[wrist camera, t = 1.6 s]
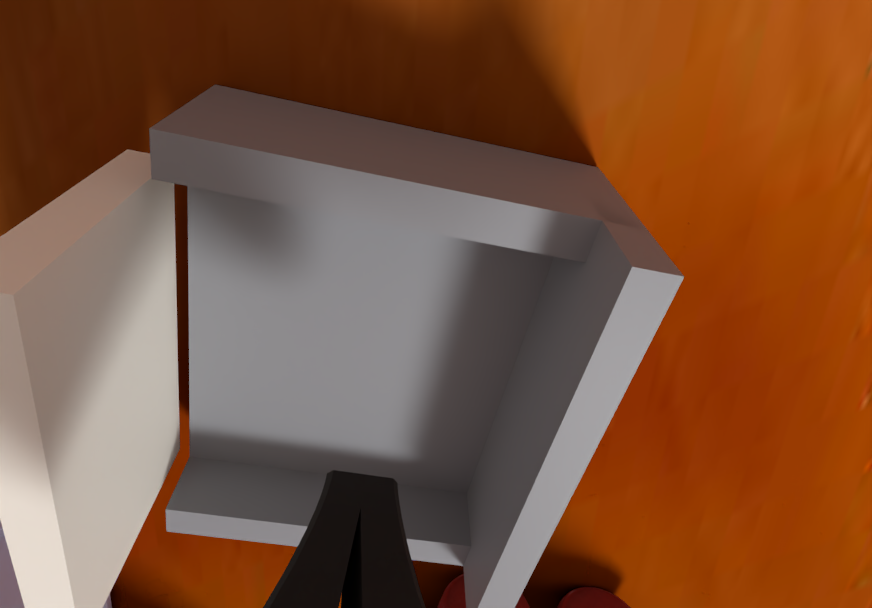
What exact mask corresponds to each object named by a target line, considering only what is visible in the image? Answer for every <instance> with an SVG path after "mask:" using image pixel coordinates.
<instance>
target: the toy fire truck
mask: <svg viewBox="0 0 872 608" xmlns="http://www.w3.org/2000/svg"><path fill="white" fill-rule="evenodd" d="M437 608H466V598H465V583H464V574H462V575H459V576H458V577H456V578H455V579H454V580H453V581H452V582H450V583H449V585H448V586H447V587H446V589H445V591H444V593H443V595H442V597H441V600H440V602H439V604H438V607H437ZM515 608H530V606H529V604H528V602H527V600H526V599H525V597H524V595H523V594H521V596H520V598H519V600H518V602H517V604H516V606H515ZM557 608H630V607H629V606H628V605H627V604H626V603H625V602H624V601H623V600H621V599H620V598H619V597H617V596H616V595H614V594H612V593H610V592H608V591H606V590H603V589H600V588H596V587H581V588H577V589H574V590H572V591H570V592H569V593H568V594H566V595H565V596H564V597H563V598H562V600H561V601H560V603H559V605H558V607H557Z"/></svg>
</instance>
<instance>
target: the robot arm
mask: <svg viewBox="0 0 872 608" xmlns="http://www.w3.org/2000/svg"><path fill="white" fill-rule="evenodd" d="M341 593H342V600H341V608H426V607H425V604H424V601H423V598H422V594H421V591H420V588H419V584H418V581H417V577H416V574H415V570H414V567H413V563H412V559H411V556H410V552H409V548H408V543H407V539H406V534H405V530H404V525H403V520H402V515H401V509H400V502H399V495H398V483H397V482H396V481H395V480H394V479H393V478H388V477H380V476H373V475H366V474H358V473H351V472H344V471H337V470H333V471H331V472H329V473H327V476H326V480H325V484H324V487H323V490H322V493H321V496H320V499H319V501H318V504H317V506H316V509H315V511H314V514H313V516H312V518H311V520H310V522H309V525H308V527H307V529H306V531H305V533H304V535H303V537H302V539H301V541H300V543H299V545H298V547H297V549H296V551H295V553H294V555H293V557H292V558H291V560H290V562H289V564H288V566H287V568H286V570H285V571H284V573H283V575H282V577H281V578H280V580H279V582H278V583H277V585H276V587H275V589H274V590H273V592H272V594H271V595H270V597H269V599H268V600H267V602H266V604H265V605H264V607H263V608H338V606H339V602H340V598H341ZM0 608H25V607H24V603H23V600H22V596H21V593H20V589H19V585H18V582H17V578H16V575H15V571H14V567H13V564H12V560H11V557H10V553H9V549H8V546H7V542H6V539H5V535H4V531H3V528H2V524H1V520H0ZM103 608H112V604H111V597H110V594H109V596H108V598H107V600H106V602H105V604H104V606H103Z"/></svg>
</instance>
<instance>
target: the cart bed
mask: <svg viewBox="0 0 872 608" xmlns="http://www.w3.org/2000/svg"><path fill="white" fill-rule="evenodd" d="M149 136H150V159H151V179H154V180H159V181H164V182H169V183H175V184H180V185H185V186H187V191H188V303H189V414H190V457H189V459H188V462H187V464H186V466H185V468H184V470H183V473H182V475H181V477H180V479H179V481H178V484H177V486H176V488H175V490H174V492H173V494H172V497H171V499H170V501H169V503H168V505H167V508H166V529H167V531H168V532H177V533H185V534H194V535H202V536H211V537H219V538H228V539H237V540H245V541H254V542H262V543H271V544H280V545H288V546H297V547H298V545H299V543H300V541H301V539H302V537H303V535H304V533H305V531H306V529H307V527H308V525H309V522H310V520H311V518H312V516H313V514H314V511H315V509H316V506H317V504H318V501H319V499H320V496H321V493H322V490H323V487H324V484H325V480H326V476H327V473H329V472H331V471H333V470H337V471H344V472H351V473H358V474H366V475H373V476H380V477H388V478H393V479H394V480H395V481H396V482H397V483H398V495H399V502H400V509H401V515H402V520H403V525H404V530H405V534H406V539H407V543H408V548H409V552H410V556H411V559H412V560H417V561H425V562H434V563H443V564H451V565H460V566H463V567H464V583H465V598H466V608H515V606H516V604H517V602H518V600H519V598H520V596H521V594H522V592H523V590H524V589H525V587H526V585H527V583H528V581H529V579H530V577H531V575H532V573H533V571H534V569H535V567H536V565H537V563H538V561H539V559H540V557H541V555H542V553H543V551H544V549H545V548H546V546H547V544H548V542H549V540H550V538H551V536H552V534H553V532H554V530H555V528H556V526H557V524H558V522H559V520H560V518H561V516H562V514H563V512H564V510H565V509H566V507H567V505H568V503H569V501H570V499H571V497H572V495H573V493H574V491H575V489H576V487H577V485H578V483H579V481H580V479H581V477H582V475H583V473H584V471H585V469H586V468H587V466H588V464H589V462H590V460H591V458H592V456H593V454H594V452H595V450H596V448H597V446H598V444H599V442H600V440H601V438H602V436H603V434H604V432H605V430H606V428H607V427H608V425H609V423H610V421H611V419H612V417H613V415H614V413H615V411H616V409H617V407H618V405H619V403H620V401H621V399H622V397H623V395H624V393H625V391H626V389H627V387H628V386H629V384H630V382H631V380H632V378H633V376H634V374H635V372H636V370H637V368H638V366H639V364H640V362H641V360H642V358H643V356H644V354H645V352H646V350H647V348H648V347H649V345H650V343H651V341H652V339H653V337H654V335H655V333H656V331H657V329H658V327H659V325H660V323H661V321H662V319H663V317H664V315H665V313H666V311H667V309H668V307H669V306H670V304H671V302H672V300H673V298H674V296H675V294H676V292H677V290H678V288H679V286H680V284H681V282H682V280H683V278H684V276H683V275H682V273H681V272H680V271H679V270H678V268H677V267H676V266H675V264H674V263H673V262H672V261H671V259H670V258H669V257H668V256H667V254H666V253H665V252H664V250H663V249H662V248H661V247H660V245H659V244H658V243H657V242H656V240H655V239H654V238H653V237H652V235H651V234H650V233H649V231H648V230H647V229H646V228H645V226H644V225H643V224H642V223H641V221H640V220H639V219H638V218H637V216H636V215H635V214H634V212H633V211H632V210H631V209H630V207H629V206H628V205H627V204H626V202H625V201H624V200H623V199H622V197H621V196H620V195H619V193H618V192H617V191H616V190H615V188H614V187H613V186H612V185H611V183H610V182H609V181H608V179H607V178H606V177H605V176H604V174H603V173H602V172H601V171H600V169H599V168H598V167H595V166H590V165H585V164H581V163H576V162H571V161H567V160H562V159H558V158H553V157H548V156H544V155H539V154H534V153H530V152H525V151H521V150H516V149H511V148H507V147H502V146H498V145H493V144H488V143H484V142H479V141H474V140H470V139H465V138H461V137H456V136H451V135H447V134H442V133H437V132H433V131H428V130H424V129H419V128H414V127H410V126H405V125H400V124H396V123H391V122H387V121H382V120H377V119H373V118H368V117H363V116H359V115H354V114H350V113H345V112H340V111H336V110H331V109H327V108H322V107H317V106H313V105H308V104H303V103H299V102H294V101H290V100H285V99H280V98H276V97H271V96H266V95H262V94H257V93H253V92H248V91H243V90H239V89H234V88H229V87H225V86H220V85H216V84H215V85H214V86H212V87H211V88H209V89H208V90H206V91H205V92H203V93H202V94H200V95H199V96H197V97H196V98H194V99H193V100H191V101H190V102H188V103H187V104H185V105H184V106H182V107H181V108H179V109H178V110H176V111H175V112H173V113H172V114H170V115H169V116H167V117H166V118H164V119H163V120H161V121H160V122H158V123H157V124H155V125H154V126H152V127H151V128H149Z"/></svg>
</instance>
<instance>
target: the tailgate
mask: <svg viewBox="0 0 872 608" xmlns="http://www.w3.org/2000/svg"><path fill="white" fill-rule="evenodd" d="M179 449H180V431H179V385H178V339H177V293H176V247H175V200H174V183H169V182H164V181H159V180H154V179H151V159H150V154H149V153H144V152H139V151H134V150H129V149H127V150H126V151H124V152H123V153H121V154H120V155H118V156H117V157H116V158H114V159H113V160H111V161H110V162H108V163H107V164H105V165H104V166H102V167H101V168H100V169H98V170H97V171H95V172H94V173H92V174H91V175H89V176H88V177H86V178H85V179H84V180H82V181H81V182H79V183H78V184H76V185H75V186H73V187H72V188H70V189H69V190H68V191H66V192H65V193H63V194H62V195H60V196H59V197H57V198H56V199H55V200H53V201H52V202H50V203H49V204H47V205H46V206H44V207H43V208H41V209H40V210H39V211H37V212H36V213H34V214H33V215H31V216H30V217H28V218H27V219H25V220H24V221H23V222H21V223H20V224H18V225H17V226H15V227H14V228H12V229H11V230H9V231H8V232H7V233H5V234H4V235H2V236H1V237H0V520H1V524H2V528H3V531H4V535H5V539H6V542H7V546H8V549H9V553H10V557H11V560H12V564H13V567H14V571H15V575H16V578H17V582H18V585H19V589H20V593H21V596H22V600H23V603H24V607H25V608H103V606H104V604H105V602H106V600H107V598H108V596H109V594H110V592H111V590H112V588H113V586H114V583H115V581H116V579H117V577H118V575H119V573H120V571H121V569H122V567H123V565H124V563H125V561H126V559H127V557H128V555H129V552H130V550H131V548H132V546H133V544H134V542H135V540H136V538H137V536H138V534H139V532H140V530H141V528H142V526H143V524H144V521H145V519H146V517H147V515H148V513H149V511H150V509H151V507H152V505H153V503H154V501H155V499H156V497H157V495H158V493H159V490H160V488H161V486H162V484H163V482H164V480H165V478H166V476H167V474H168V472H169V470H170V468H171V466H172V464H173V462H174V460H175V457H176V455H177V453H178V451H179Z"/></svg>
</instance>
